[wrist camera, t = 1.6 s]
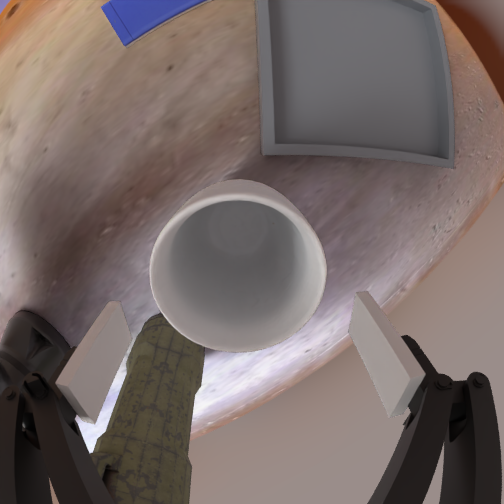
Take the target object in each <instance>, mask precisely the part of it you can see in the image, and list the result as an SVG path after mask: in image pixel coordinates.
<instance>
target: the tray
mask: <svg viewBox="0 0 504 504" xmlns="http://www.w3.org/2000/svg"><path fill="white" fill-rule="evenodd" d="M255 16H256V37H257V59H258V83H259V109H260V138H261V155H319V156H343V157H359V158H373V159H384V160H394V161H403V162H411V163H419V164H426V165H433V166H439V167H445V168H451V169H454V151H455V128H454V105H453V93H452V83H451V75H450V68H449V61H448V55H447V50H446V45H445V40H444V35H443V31H442V27H441V23H440V19H439V16H438V12H437V9H436V6H435V5H433V4H431V3H429V2H427V1H424V0H255Z"/></svg>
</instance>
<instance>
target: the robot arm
mask: <svg viewBox="0 0 504 504" xmlns="http://www.w3.org/2000/svg"><path fill="white" fill-rule="evenodd" d="M348 332H349V334H350V336H351V338H352V340H353V342H354V344H355V346H356V348H357V350H358V352H359V354H360V356H361V358H362V360H363V362H364V364H365V367H366V369H367V371H368V373H369V375H370V377H371V379H372V381H373V383H374V386H375V388H376V390H377V392H378V395H379V397H380V399H381V401H382V403H383V406H384V408H385V410H386V412H387V415H388V417H389V418H391V417H395V416H398V415H401V414H403V413H404V412H405V410H406V409H407V407H409V409H410V411H411V413H410V414H409V416H408V417H407V419H406V420H405V422H404V424H403V425H405V427H404V429H403V432H402V434H401V437H400V440H399V442H398V444H397V447H396V449H395V451H394V454H393V456H392V458H391V460H390V462H389V464H388V467H387V468H386V470H385V472H384V474H383V476H382V479H381V481H380V482H379V484H378V486H377V488H376V490H375V491H374V493H373V495H372V497H371V499H370V500H369V502H368V503H367V504H422V503H423V501H424V499H425V496H426V494H427V491H428V489H429V486H430V484H431V481H432V478H433V475H434V472H435V470H436V467H437V463H438V460H439V457H440V454H441V450H442V446H443V443H444V465H443V477H442V487H441V495H440V502H439V504H501V491H502V469H501V468H502V467H501V449H500V440H499V430H498V423H497V416H496V410H495V405H494V400H493V395H492V390H491V386H490V382H489V380H488V378H487V377H486V376H485V375H484V374H482V373H480V372H473V373H471V374H470V375H469V377H468V378H467V380H465V381H453V380H452V379H451V378H450V377H449V376H447V375H445V374H438V372H437V371H436V369H435V368H434V367H433V365H432V364H431V363H430V361H429V359H428V358H427V356H426V355H425V354H424V352H423V351H422V349H420V347H419V345H418V344H417V343H416V341H415V340H414V339H412V338H411V337H410V336H408V335H404V336H400V335H399V334H398V332H397V331H396V329H395V328H394V326H393V325H392V324H391V322H390V321H389V319H388V318H387V317H386V315H385V314H384V312H383V311H382V310H381V308H380V307H379V306H378V304H377V303H376V302H375V300H374V299H373V298H372V296H371V295H370V294H369V292H368V291H364V292H356V293H355V298H354V304H353V310H352V315H351V320H350V325H349V330H348ZM131 341H132V337H131V334H130V331H129V328H128V325H127V322H126V319H125V315H124V312H123V309H122V306H121V302H120V301H109V302H108V303H107V305H106V306H105V307H104V309H103V310H102V312H101V313H100V314H99V316H98V317H97V319H96V320H95V322H94V323H93V324H92V326H91V327H90V329H89V330H88V332H87V333H86V335H85V336H84V338H83V339H82V341H81V342H80V344H79V345H78V347H75V346H74V347H72V348H71V349H70V347H69V346H68V344H67V343H66V341H65V340H64V339H63V338H62V336H61V335H60V334H59V333H58V332H57V331H56V330H55V329H54V328H53V327H52V326H51V325H50V324H49V323H47V322H46V321H45V320H43V319H42V318H41V317H39V316H37V315H35V314H33V313H31V312H27V311H19V312H17V313H16V314H15V315H14V316H13V317H12V318H11V319H10V320H9V322H8V323H7V326H6V329H5V331H4V334H3V336H2V339H1V342H0V504H53V503H52V497H51V490H50V483H49V478H50V481H51V483H52V486H53V489H54V491H55V494H56V497H57V499H58V502H59V504H115V502H114V501H113V499H112V497H111V495H110V494H109V492H108V490H107V488H106V486H105V485H104V483H103V481H102V479H101V477H100V475H99V473H98V471H97V469H96V467H95V465H94V462H93V460H92V458H91V456H90V454H89V451H88V449H87V447H86V444H85V442H84V439H83V437H82V434H81V432H80V429H79V426H78V424H77V422H76V420H75V417H76V415H78V416H79V417H80V419H81V420H82V421H84V422H87V423H91V424H95V423H96V421H97V418H98V416H99V413H100V411H101V408H102V406H103V403H104V401H105V399H106V396H107V394H108V392H109V389H110V387H111V385H112V382H113V380H114V378H115V375H116V373H117V371H118V369H119V367H120V364H121V362H122V360H123V358H124V356H125V353H126V351H127V349H128V347H129V345H130V343H131Z"/></svg>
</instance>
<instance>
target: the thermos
mask: <svg viewBox="0 0 504 504" xmlns="http://www.w3.org/2000/svg"><path fill="white" fill-rule="evenodd" d="M204 349H205V347H204V346H202V345H199V344H197V343H195V342H193V341H191V340H189V339H188V338H186V337H185V336H184V335H182V334H181V333H180V332H178V331H177V330H176V329H175V328H174V327H173V326H172V325H171V324H170V323H169V322H168V321H167V319H166V318H165V317H164V315H163V314H158V315H155V316H153V317H151V318H149V319H148V320H147V321H146V322H145V324H144V326H143V328H142V331H141V333H139V334H138V336H137V338H136V341H135V343H134V345H133V347H132V350H131V352H130V354H129V357H128V360H127V363H126V367H127V375H126V377H125V380H124V382H123V385H122V388H121V390H120V393H119V395H118V398H117V401H116V404H115V406H114V409H113V412H112V415H111V418H110V420H109V423H108V426H107V429H106V432H105V433H103V434H102V435H101V436H100V437H99V438H98V439H97V442H96V445H95V448H94V451H93V453H90V456H91V458H92V460H93V462H94V465H95V467H96V469H97V471H98V473H99V475H100V477H101V479H102V481H103V483H104V485H105V486H106V488H107V490H108V492H109V494H110V495H111V497H112V499H113V501H114V502H115V504H189V497H190V485H191V472H192V466H191V463H190V461H189V458H188V449H189V440H190V432H191V423H192V415H193V407H194V399H195V394H196V393H197V391H198V390H199V388H200V387H201V382H202V374H203V366H204V358H205V354H204Z"/></svg>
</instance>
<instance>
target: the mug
mask: <svg viewBox="0 0 504 504" xmlns="http://www.w3.org/2000/svg"><path fill="white" fill-rule="evenodd" d="M326 278H327V265H326V257H325V253H324V250H323V247H322V244H321V242H320V240H319V238H318V236H317V234H316V232H315V231H314V229H313V228H312V227H311V225H310V224H309V223H308V221H307V220H306V218H305V217H304V216H303V215H302V214H301V212H300V211H299V210H298V209H297V208H296V207H295V205H293V204H292V203H291V202H290V201H289V200H288V199H287V198H286V197H285V196H284V195H282V194H281V193H280V192H277V191H276V190H275V189H273V188H271V187H269V186H267V185H265V184H262V183H260V182H255V181H253V180H243V179H238V180H236V179H233V180H226V181H221V182H219V183H215V184H213V185H210V186H208V187H207V188H204V189H203V190H200V191H199V192H198V193H196V194H195V195H193V197H191V198H190V199H189V200H187V201H186V203H185V204H183V206H182V207H181V208H179V210H178V211H177V212H176V213H175V214H174V216H173V217H172V218H171V219H170V221H169V222H168V223H167V224H166V225H165V227H164V228H163V230H162V231H161V233H160V234H159V236H158V238H157V240H156V242H155V245H154V247H153V250H152V254H151V258H150V266H149V279H150V286H151V290H152V294H153V297H154V299H155V301H156V304H157V306H158V307H159V309H160V311H161V313H162V314H163V315H164V317H165V318H166V319H167V321H168V322H169V323H170V324H171V325H172V326H173V327H174V328H175V329H176V330H177V331H178V332H180V333H181V334H182V335H184V336H185V337H186V338H188V339H189V340H191V341H193V342H195V343H197V344H199V345H202V346H204V347H207V348H210V349H214V350H218V351H224V352H233V353H237V352H252V351H257V350H262V349H266V348H268V347H271V346H274V345H276V344H279V343H281V342H283V341H284V340H286V339H288V338H289V337H291V336H292V335H293V334H295V333H296V332H297V331H299V330H300V329H301V328H302V327H303V326H304V325H305V324H306V323H307V322H308V321H309V320H310V318H311V317H312V316H313V314H314V313H315V311H316V309H317V307H318V306H319V303H320V301H321V299H322V296H323V293H324V289H325V285H326Z"/></svg>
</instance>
